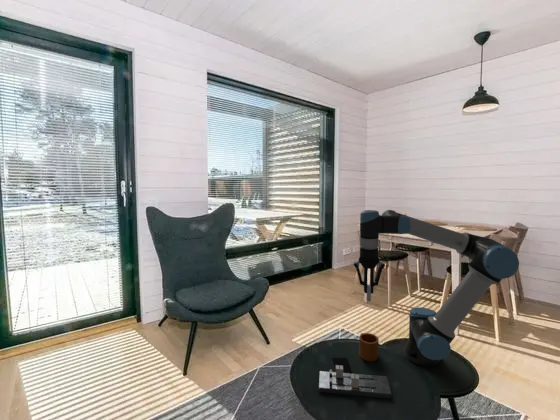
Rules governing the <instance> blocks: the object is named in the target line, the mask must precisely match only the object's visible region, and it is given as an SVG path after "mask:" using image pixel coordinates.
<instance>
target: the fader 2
mask: <svg viewBox="0 0 560 420" xmlns="http://www.w3.org/2000/svg"><path fill="white" fill-rule="evenodd" d="M355 374H356V373H352V374H351V387H353V388H359V375H355Z"/></svg>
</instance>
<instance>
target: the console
mask: <svg viewBox="0 0 560 420" xmlns="http://www.w3.org/2000/svg"><path fill="white" fill-rule="evenodd" d="M354 374H355V375H359V388H353V387H351V374H350V373H343V378H336V372H335V371H333V369H329V371H324V370H320V371H319V376H318V377H319V378H318V379H319V382H318V393H327V394H328V393H329V394H337V395H338V394H339V395H348V396H358V397H359V396H361V397H369V398H371V397H372V398H379V399H380V398H382V399H392V394H393V393H392V391H391V386H390V382H389V379H388V376H384V375H372V374H371V375H370V374H362V373H361V374H360V373H354Z"/></svg>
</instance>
